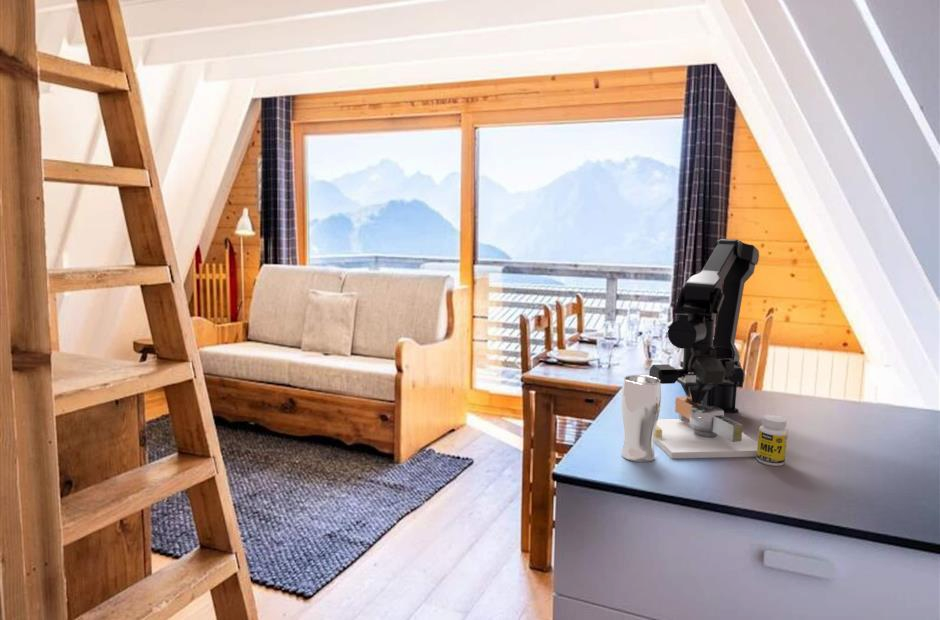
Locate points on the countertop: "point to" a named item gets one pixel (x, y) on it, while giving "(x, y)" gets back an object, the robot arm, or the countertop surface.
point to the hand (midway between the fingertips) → (694, 412)
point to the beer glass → (640, 416)
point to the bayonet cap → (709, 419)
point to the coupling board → (698, 441)
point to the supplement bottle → (772, 440)
